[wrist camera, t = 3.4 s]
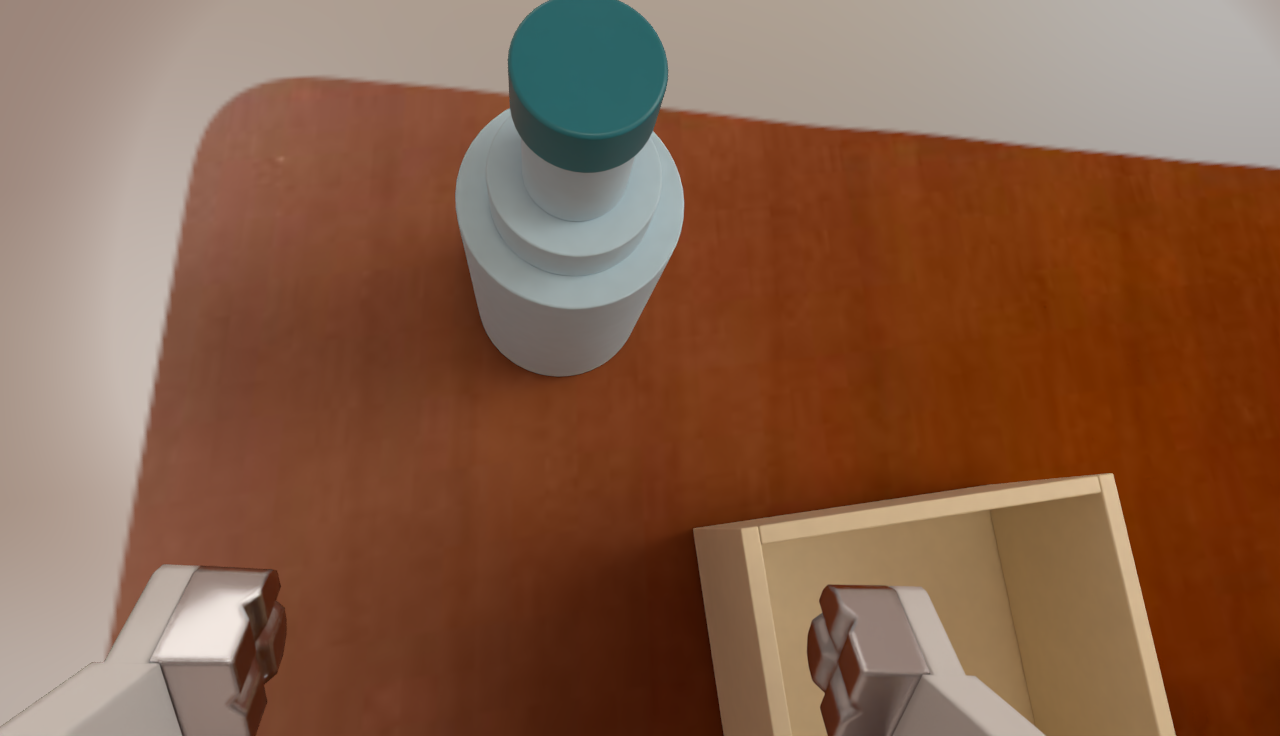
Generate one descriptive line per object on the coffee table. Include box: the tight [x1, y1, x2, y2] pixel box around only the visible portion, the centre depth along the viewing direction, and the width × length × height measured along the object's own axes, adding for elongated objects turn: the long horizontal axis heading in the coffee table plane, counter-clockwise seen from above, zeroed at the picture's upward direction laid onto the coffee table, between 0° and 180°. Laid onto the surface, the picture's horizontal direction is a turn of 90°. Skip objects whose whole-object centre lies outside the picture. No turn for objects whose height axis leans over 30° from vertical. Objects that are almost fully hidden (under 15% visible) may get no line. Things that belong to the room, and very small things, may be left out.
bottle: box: [455, 0, 684, 377], centre depth 22 cm, size 6×6×15 cm
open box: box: [693, 473, 1176, 736], centre depth 25 cm, size 11×11×6 cm
